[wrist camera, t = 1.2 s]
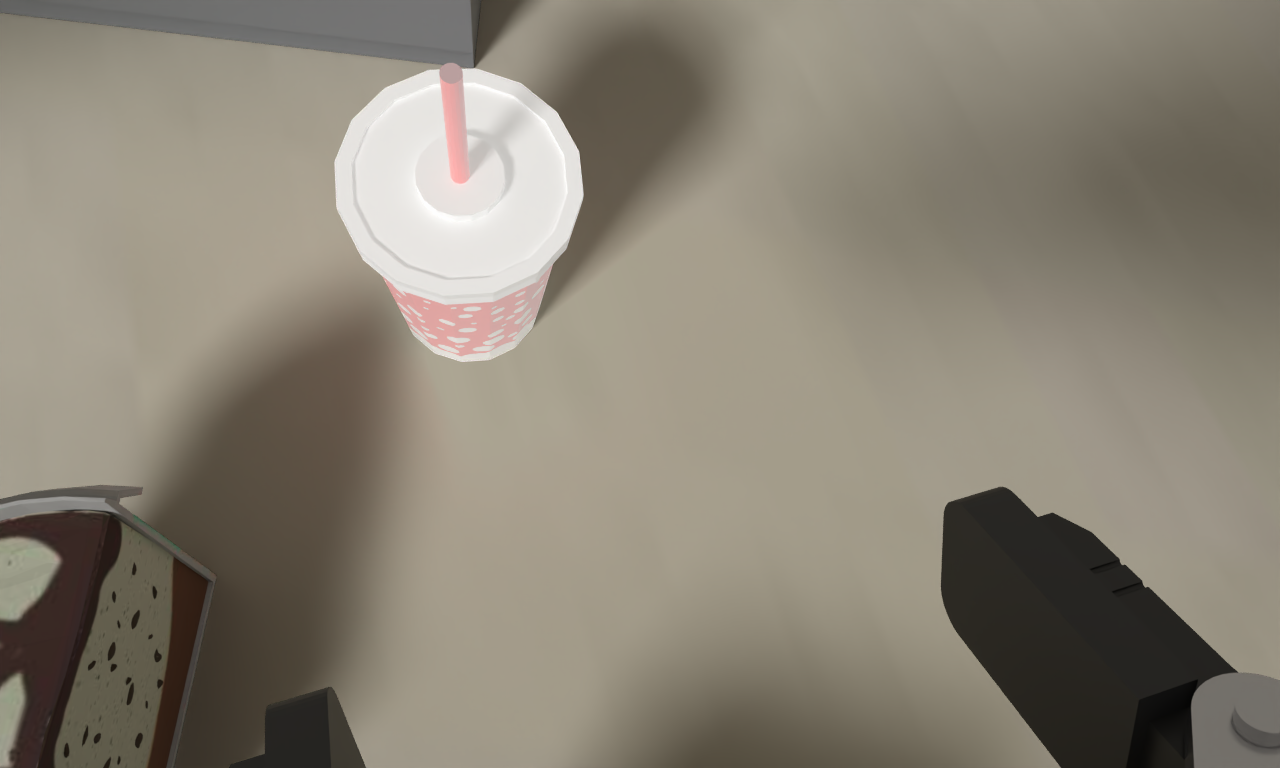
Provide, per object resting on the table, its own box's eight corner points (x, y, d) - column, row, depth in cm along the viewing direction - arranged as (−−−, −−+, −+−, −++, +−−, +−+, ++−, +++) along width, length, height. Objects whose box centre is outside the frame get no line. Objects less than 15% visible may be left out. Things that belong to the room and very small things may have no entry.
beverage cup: (436, 175, 36) (397, -109, 22) (597, 263, 36) (653, 30, 22) (338, 327, 34) (232, 118, 21) (506, 419, 34) (508, 269, 21)
